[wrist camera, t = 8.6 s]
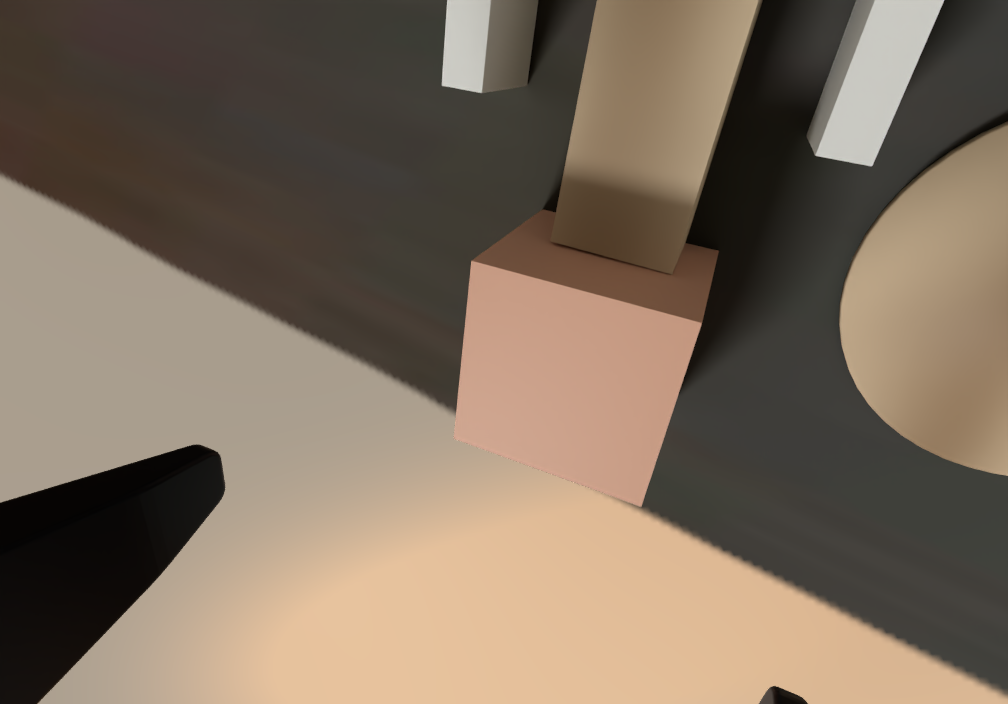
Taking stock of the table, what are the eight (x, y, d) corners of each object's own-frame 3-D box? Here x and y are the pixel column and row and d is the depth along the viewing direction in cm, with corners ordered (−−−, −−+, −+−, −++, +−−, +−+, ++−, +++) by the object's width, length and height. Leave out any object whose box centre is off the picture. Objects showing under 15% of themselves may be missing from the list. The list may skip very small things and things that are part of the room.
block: (718, 250, 16) (702, 323, 11) (669, 402, 18) (641, 506, 14) (543, 208, 17) (471, 260, 13) (519, 355, 19) (453, 438, 15)
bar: (848, -268, 11) (873, -362, 8) (686, 239, 16) (671, 275, 13) (688, -274, 12) (667, -361, 9) (582, 212, 17) (550, 241, 14)
